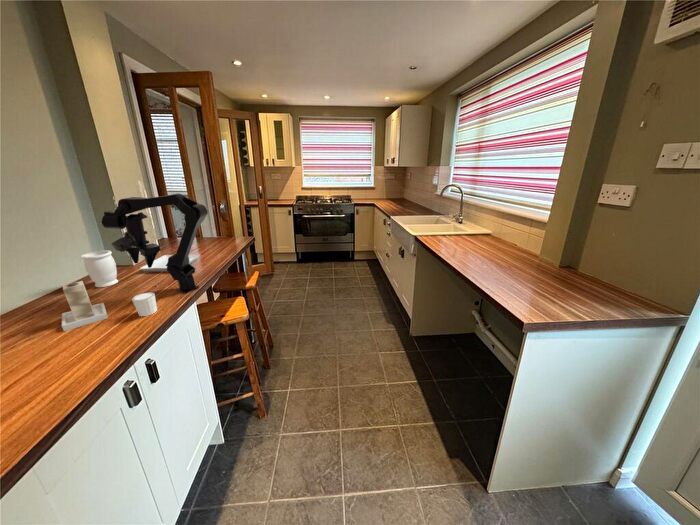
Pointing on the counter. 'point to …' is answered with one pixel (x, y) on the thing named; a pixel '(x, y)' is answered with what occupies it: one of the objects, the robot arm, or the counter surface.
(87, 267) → the jar
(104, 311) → the tray
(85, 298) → the beech block
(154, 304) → the shot glass
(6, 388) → the counter surface
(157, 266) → the salad plate
